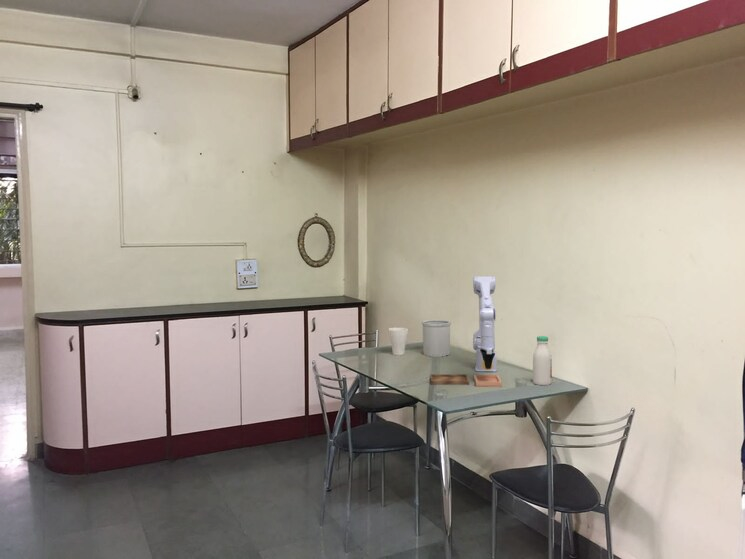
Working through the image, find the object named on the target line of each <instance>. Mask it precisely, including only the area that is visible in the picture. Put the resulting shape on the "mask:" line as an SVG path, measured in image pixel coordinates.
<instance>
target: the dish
mask: <svg viewBox="0 0 745 559" xmlns="http://www.w3.org/2000/svg"><path fill="white" fill-rule="evenodd" d="M473 380H474V381H473V382H474V384H475V386H476V387H477V388H478V387H483V388H486V387H487V388H488V387H489V388H494V387H495V388H499V387H500V388H501V387H502V385H503V384H502V380H501V378H500V376H499V375H498V374H473Z"/></svg>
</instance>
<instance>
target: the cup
mask: <svg viewBox="0 0 745 559" xmlns="http://www.w3.org/2000/svg"><path fill="white" fill-rule="evenodd" d="M387 330H388V338H389V342H390V345H391V349H392V350H391V351H392V355H393V354H394V355H393V356H404V355H405V350H406V349H405V348H406V344H407V341H408V340H407V339H408V335H409V334H408V333H409V328H407V327H389V328H388V329H387ZM403 354H404V355H403Z"/></svg>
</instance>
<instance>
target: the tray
mask: <svg viewBox="0 0 745 559" xmlns="http://www.w3.org/2000/svg"><path fill="white" fill-rule="evenodd" d="M430 385H437V386H438V385H445V386H446V385H451V386H452V385H456V386H457V385H463V386H464V385H469V386H470V380H469V377H468V374H466V373H465V374H462V373H461V374H460V373H459V374H458V373H457V374H456V373H455V374H454V373H453V374H452V373H450V374H449V373H448V374H445V373H444V374H443V373H442V374H441V373H437V374H436V373H434V374H433V373H431V374H430Z"/></svg>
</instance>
